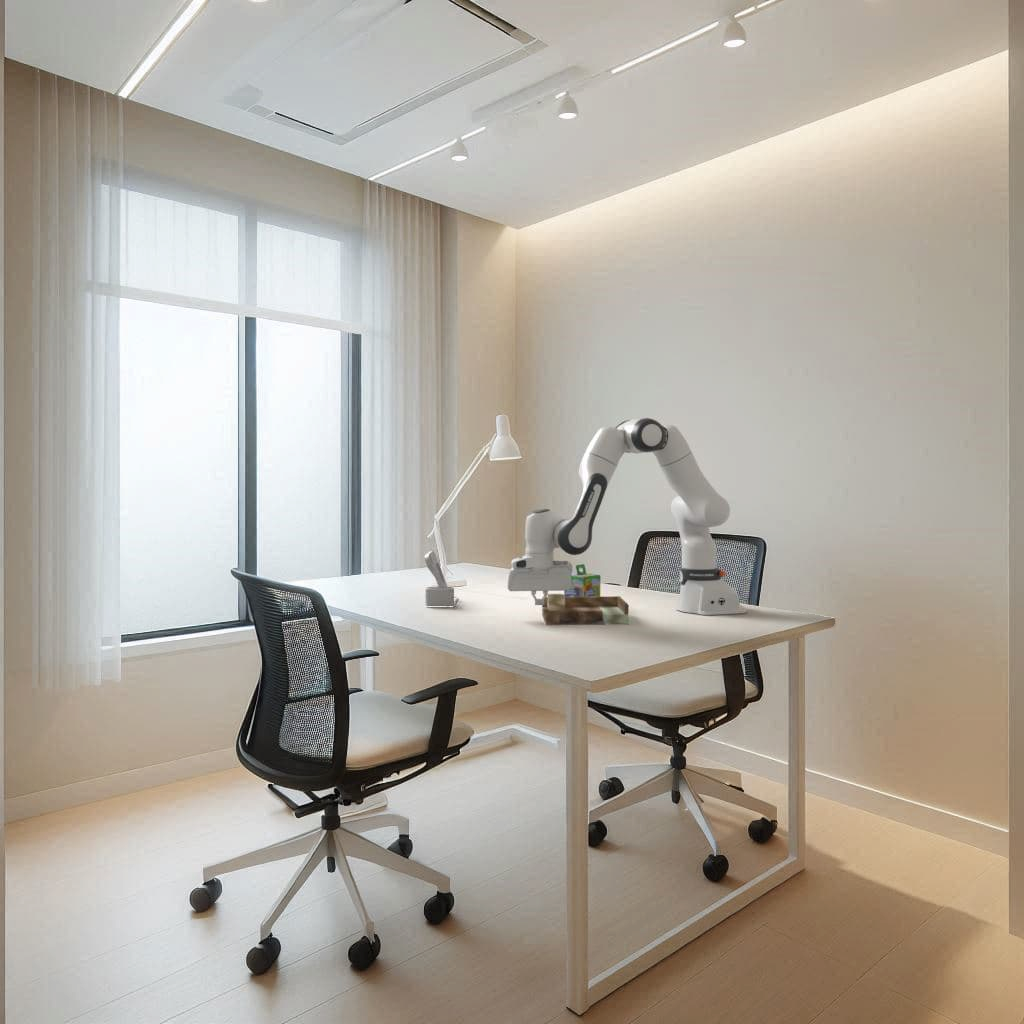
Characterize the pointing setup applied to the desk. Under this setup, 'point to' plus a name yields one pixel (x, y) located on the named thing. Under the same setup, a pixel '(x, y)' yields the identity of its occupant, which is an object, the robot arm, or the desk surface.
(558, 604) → the maple block
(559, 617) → the track
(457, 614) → the desk surface
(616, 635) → the desk surface
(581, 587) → the chalk box
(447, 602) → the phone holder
